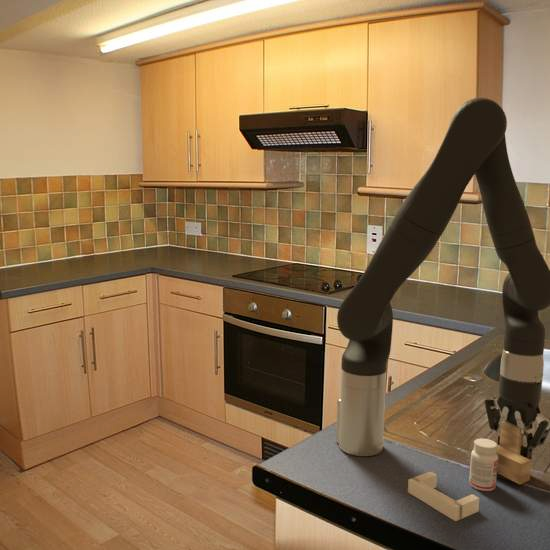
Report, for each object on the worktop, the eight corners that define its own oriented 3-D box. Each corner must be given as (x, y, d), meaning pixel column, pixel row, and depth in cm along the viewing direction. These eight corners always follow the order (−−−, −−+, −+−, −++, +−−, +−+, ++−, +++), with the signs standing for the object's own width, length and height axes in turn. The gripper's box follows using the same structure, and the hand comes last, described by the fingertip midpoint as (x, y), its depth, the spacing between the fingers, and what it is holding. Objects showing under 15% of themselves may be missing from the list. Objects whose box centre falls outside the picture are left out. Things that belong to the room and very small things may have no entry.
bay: (407, 492, 110) (408, 479, 109) (430, 483, 113) (430, 471, 112) (455, 521, 101) (456, 507, 100) (478, 511, 104) (479, 498, 103)
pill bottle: (498, 493, 110) (501, 449, 108) (470, 490, 111) (474, 447, 109) (493, 480, 115) (496, 438, 113) (467, 477, 115) (470, 436, 114)
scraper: (475, 462, 119) (478, 419, 117) (497, 453, 123) (501, 411, 121) (519, 484, 111) (523, 438, 109) (542, 474, 114) (546, 429, 113)
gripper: (477, 366, 118) (471, 448, 121) (543, 388, 106) (535, 479, 109) (501, 360, 122) (495, 440, 125) (568, 381, 110) (559, 468, 113)
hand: (513, 457), depth 117 cm, fingers closed on scraper, 4 cm apart
